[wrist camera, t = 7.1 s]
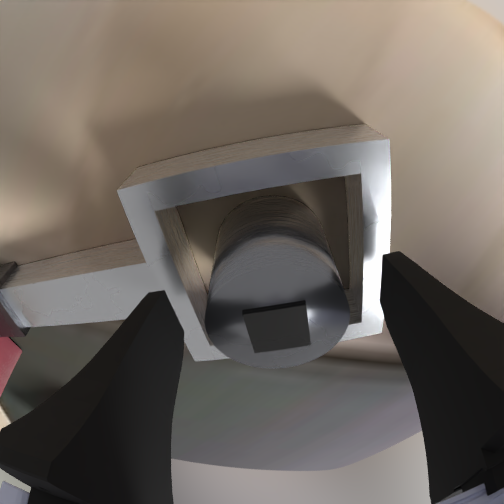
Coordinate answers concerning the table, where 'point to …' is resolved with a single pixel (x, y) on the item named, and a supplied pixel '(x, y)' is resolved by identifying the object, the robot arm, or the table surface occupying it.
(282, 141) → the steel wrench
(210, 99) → the table surface
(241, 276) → the socket
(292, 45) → the table surface
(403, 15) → the table surface
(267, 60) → the table surface
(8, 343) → the small box
